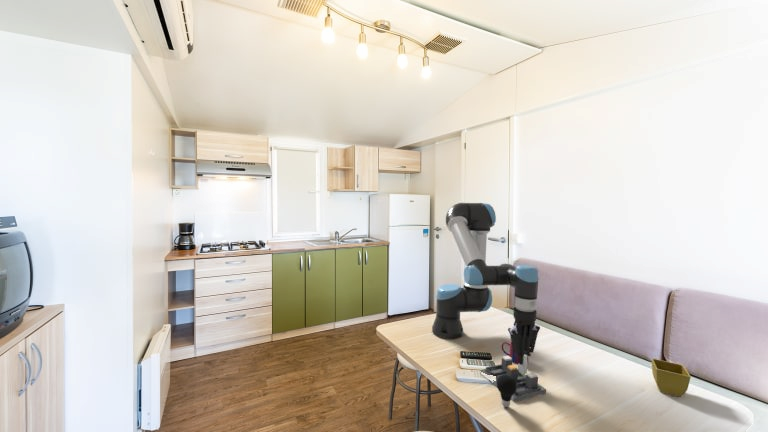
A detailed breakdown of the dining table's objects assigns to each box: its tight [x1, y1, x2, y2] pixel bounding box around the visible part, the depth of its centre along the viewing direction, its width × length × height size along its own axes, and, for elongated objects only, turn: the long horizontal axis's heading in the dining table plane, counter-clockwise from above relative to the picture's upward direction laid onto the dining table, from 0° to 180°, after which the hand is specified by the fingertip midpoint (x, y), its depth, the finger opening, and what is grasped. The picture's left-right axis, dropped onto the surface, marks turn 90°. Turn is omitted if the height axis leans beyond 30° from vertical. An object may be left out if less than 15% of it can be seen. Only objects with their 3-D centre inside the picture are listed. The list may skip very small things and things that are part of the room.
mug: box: [501, 341, 518, 365], centre depth 128 cm, size 7×10×7 cm
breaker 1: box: [500, 355, 513, 370], centre depth 117 cm, size 2×3×4 cm
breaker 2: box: [525, 371, 539, 389], centre depth 106 cm, size 2×3×4 cm
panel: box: [480, 363, 547, 402], centre depth 111 cm, size 17×14×2 cm
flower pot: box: [651, 358, 691, 398], centre depth 107 cm, size 9×9×9 cm
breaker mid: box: [506, 364, 518, 380], centre depth 111 cm, size 2×3×4 cm
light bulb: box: [496, 375, 516, 408], centre depth 97 cm, size 6×6×10 cm
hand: (522, 371), depth 112 cm, fingers closed
